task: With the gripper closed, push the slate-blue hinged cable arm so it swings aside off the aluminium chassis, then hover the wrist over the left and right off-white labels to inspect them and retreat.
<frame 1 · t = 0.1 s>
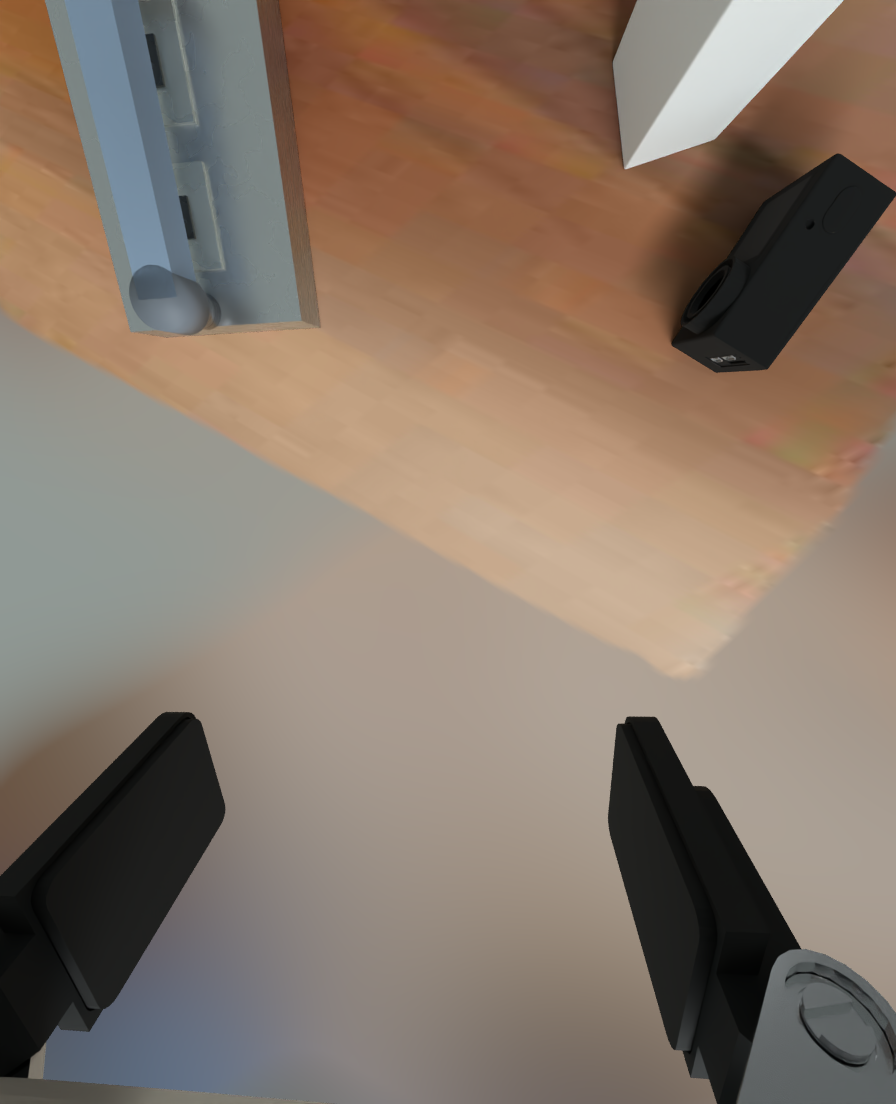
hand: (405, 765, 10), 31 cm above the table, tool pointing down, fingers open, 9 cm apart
chassis: (214, 181, 33), on the table
milk: (662, 103, 30), on the table
cable arm: (133, 138, 26), point 8 cm above the table, hinge at 0.0°
digital camera: (730, 287, 33), on the table
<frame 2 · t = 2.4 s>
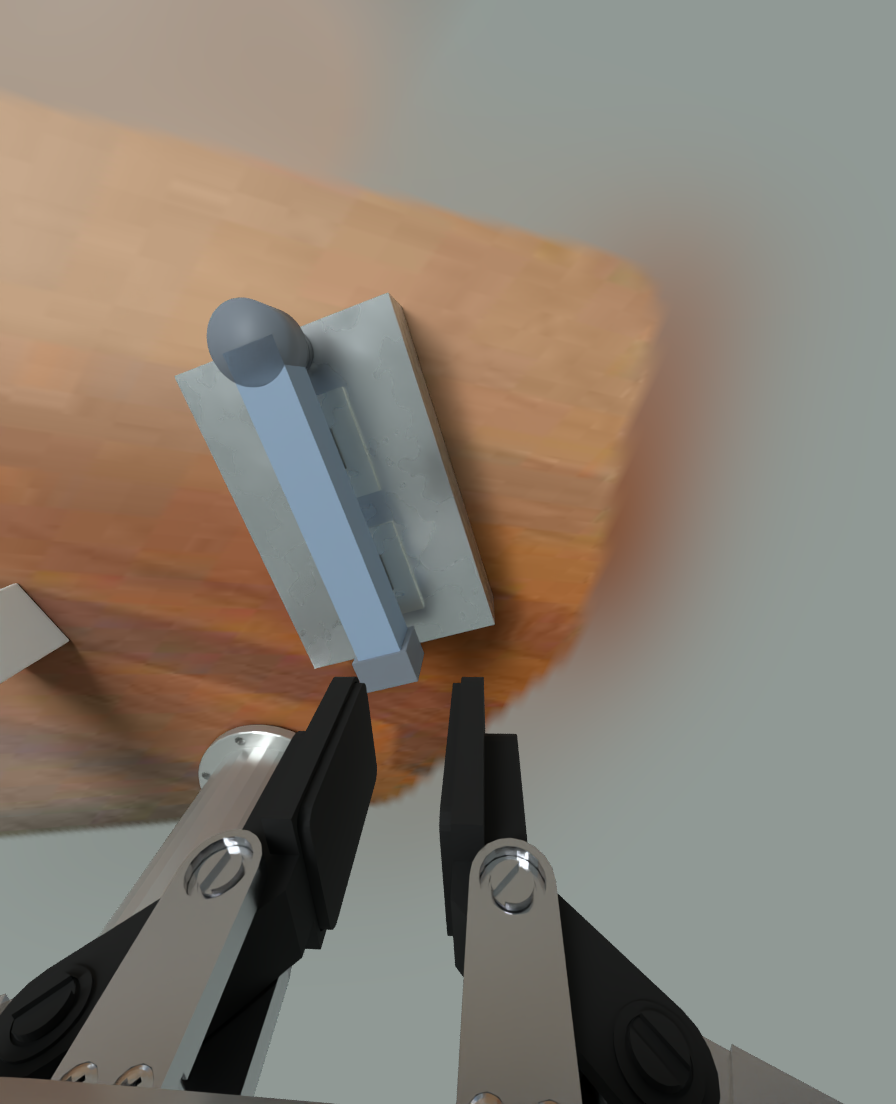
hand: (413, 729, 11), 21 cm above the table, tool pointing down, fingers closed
chassis: (362, 494, 31), on the table
milk: (23, 625, 37), on the table
cable arm: (329, 512, 24), point 8 cm above the table, hinge at 0.0°
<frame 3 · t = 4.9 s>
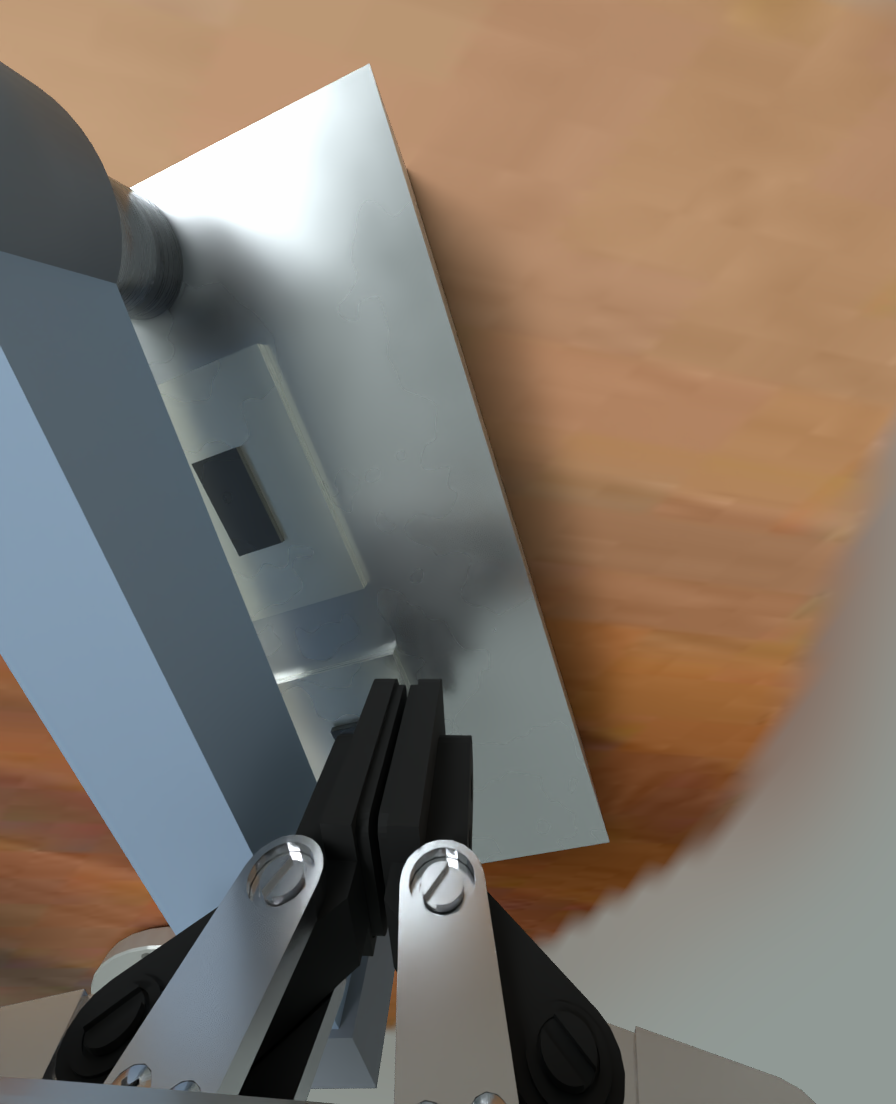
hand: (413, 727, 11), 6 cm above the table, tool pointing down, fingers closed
chassis: (335, 569, 16), on the table
cable arm: (174, 695, 9), point 8 cm above the table, hinge at 6.8°, touching gripper
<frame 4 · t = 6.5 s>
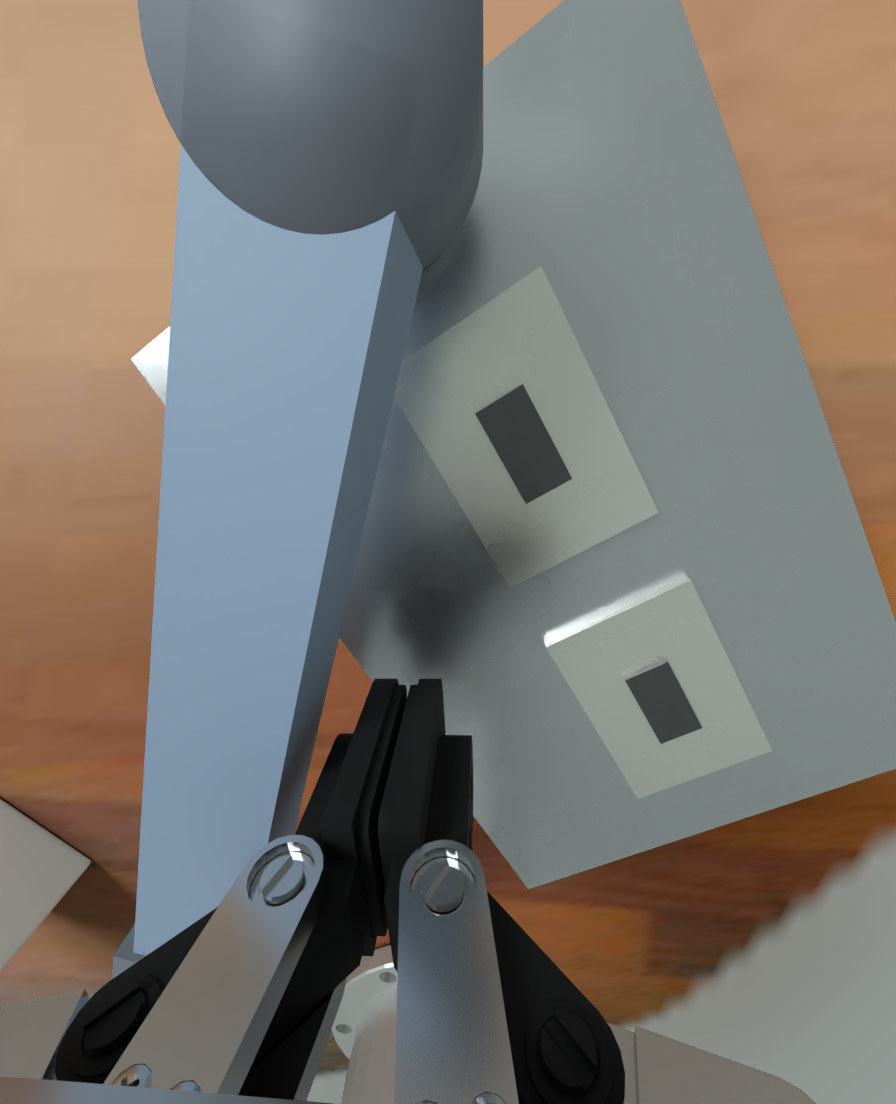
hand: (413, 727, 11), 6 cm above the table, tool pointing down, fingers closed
chassis: (548, 528, 15), on the table
milk: (20, 849, 24), on the table
cable arm: (259, 640, 9), point 8 cm above the table, hinge at 47.3°, touching gripper
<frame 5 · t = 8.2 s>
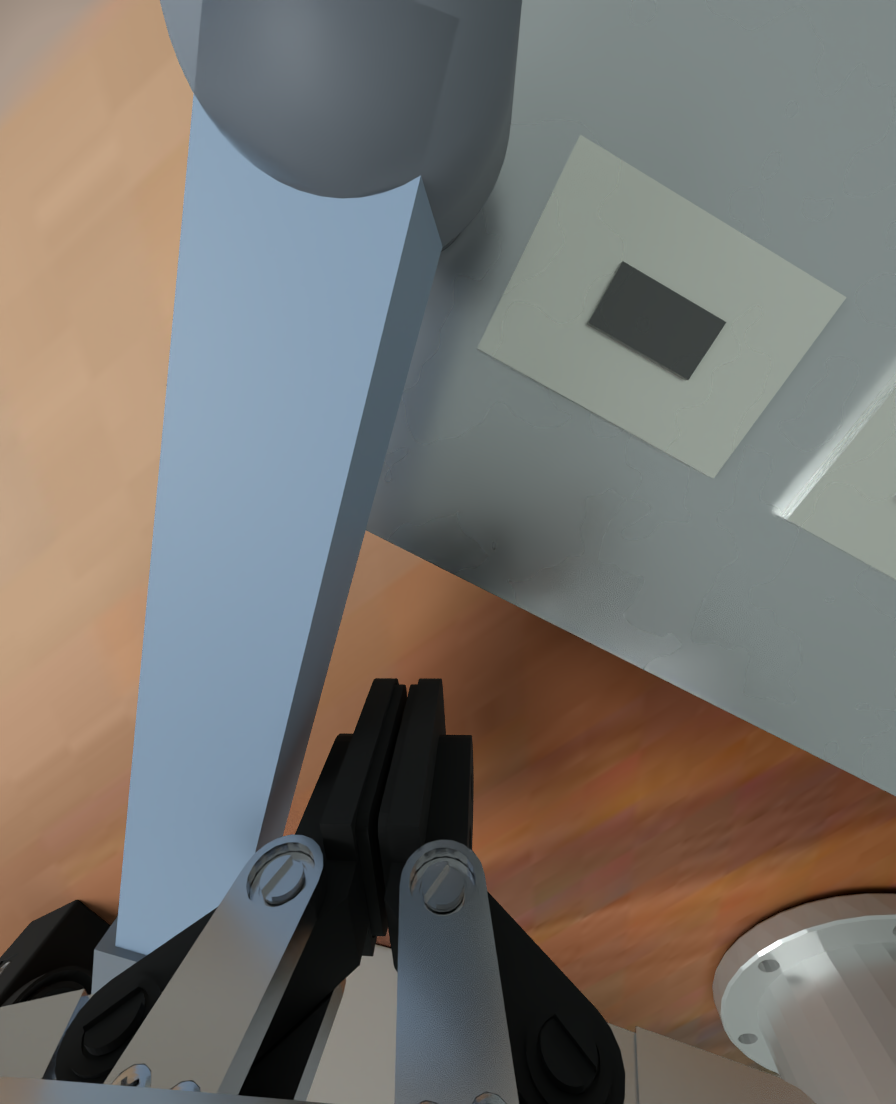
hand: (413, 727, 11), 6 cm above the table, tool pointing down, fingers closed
chassis: (692, 416, 14), on the table
milk: (356, 969, 25), on the table
cable arm: (256, 629, 8), point 8 cm above the table, hinge at 81.1°, touching gripper
digital camera: (132, 956, 26), on the table
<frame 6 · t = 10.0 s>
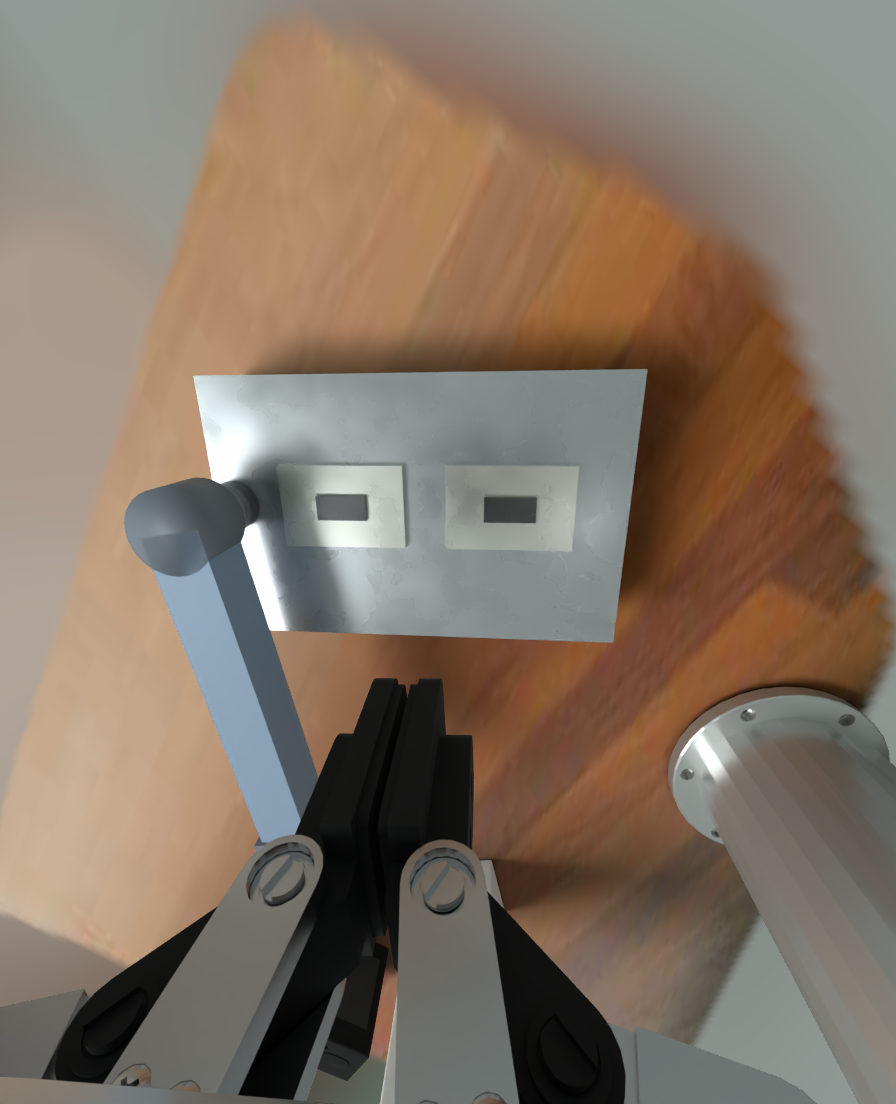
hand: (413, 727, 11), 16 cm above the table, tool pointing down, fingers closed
chassis: (426, 498, 26), on the table
milk: (461, 885, 36), on the table
cable arm: (248, 692, 22), point 8 cm above the table, hinge at 81.1°
digital camera: (331, 930, 39), on the table
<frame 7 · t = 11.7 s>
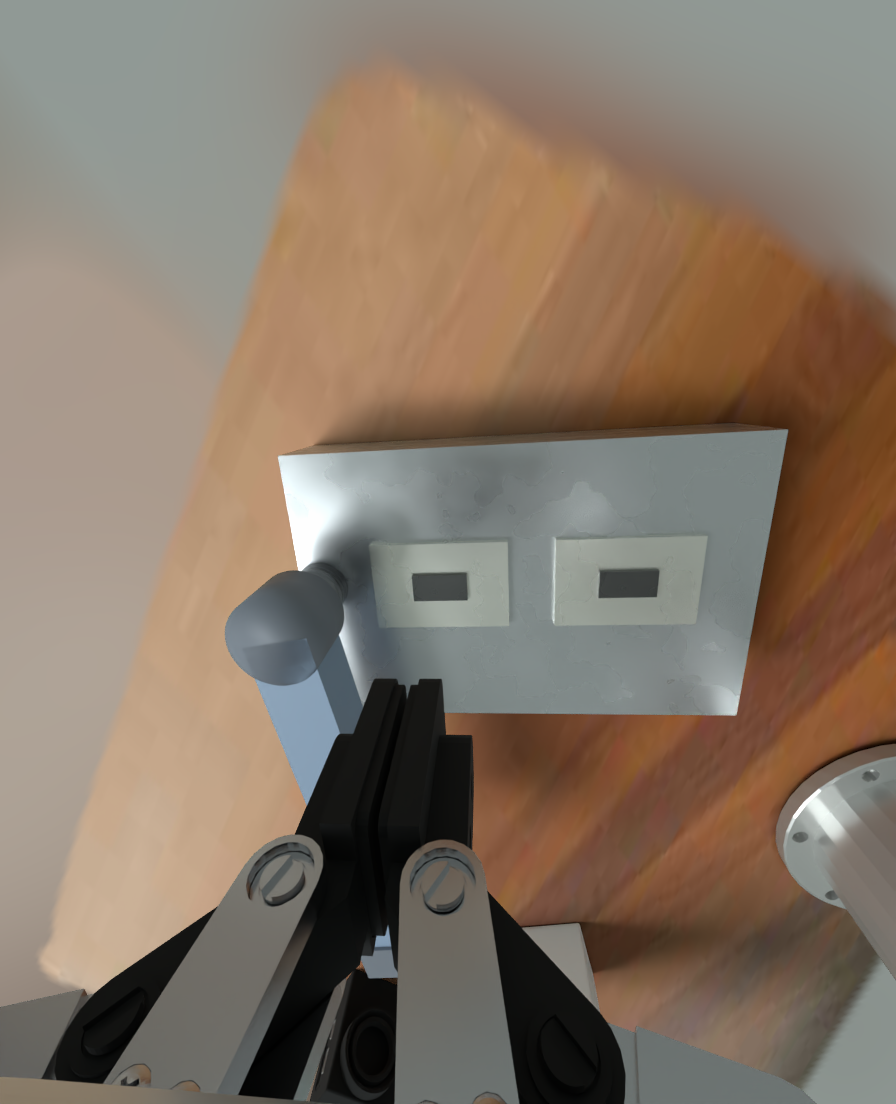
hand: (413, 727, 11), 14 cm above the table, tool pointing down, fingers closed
chassis: (515, 561, 24), on the table
milk: (546, 948, 34), on the table
cable arm: (349, 792, 20), point 8 cm above the table, hinge at 81.1°
digital camera: (405, 996, 38), on the table
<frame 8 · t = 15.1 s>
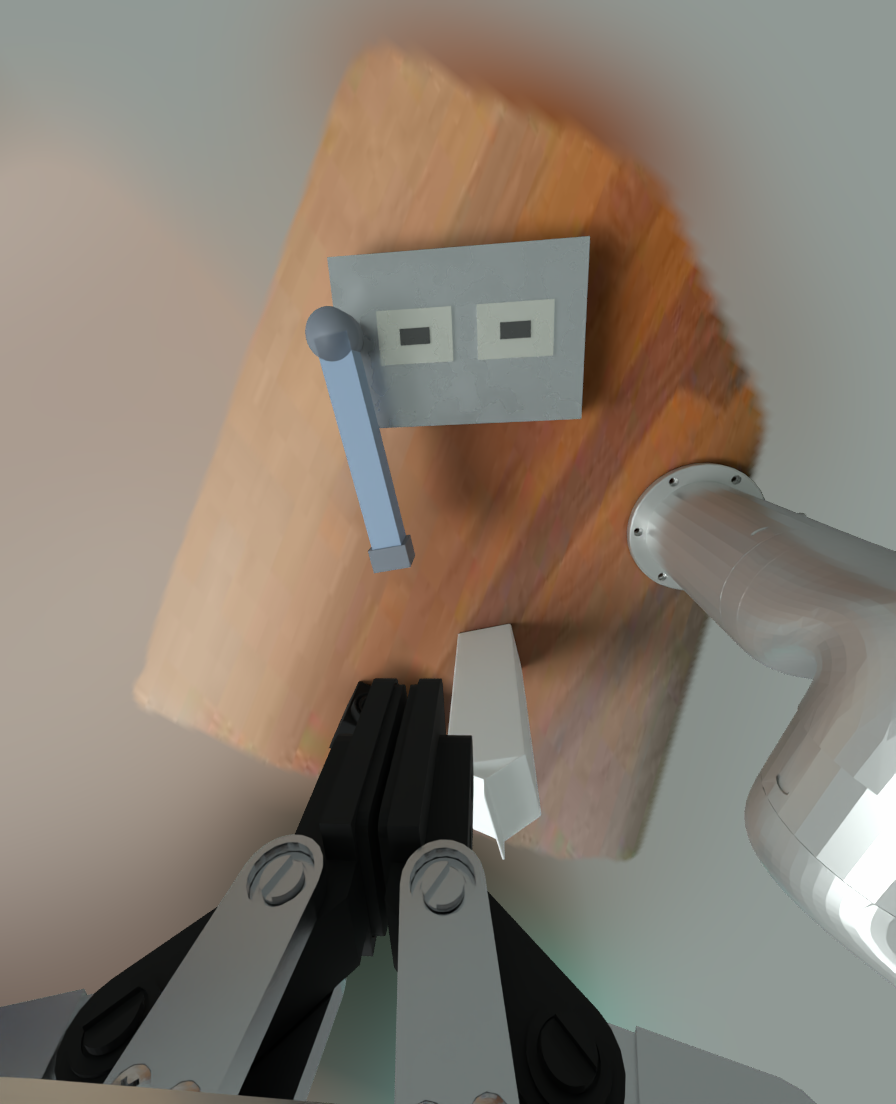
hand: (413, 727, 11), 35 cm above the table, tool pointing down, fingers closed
chassis: (461, 345, 40), on the table
milk: (490, 649, 51), on the table
cable arm: (364, 448, 36), point 8 cm above the table, hinge at 81.1°
digital camera: (394, 705, 55), on the table
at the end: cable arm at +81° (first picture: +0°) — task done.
